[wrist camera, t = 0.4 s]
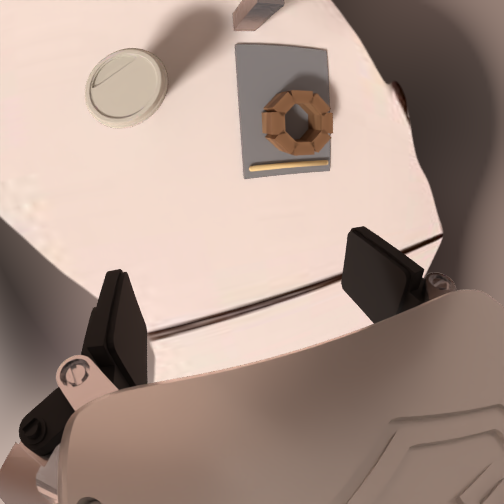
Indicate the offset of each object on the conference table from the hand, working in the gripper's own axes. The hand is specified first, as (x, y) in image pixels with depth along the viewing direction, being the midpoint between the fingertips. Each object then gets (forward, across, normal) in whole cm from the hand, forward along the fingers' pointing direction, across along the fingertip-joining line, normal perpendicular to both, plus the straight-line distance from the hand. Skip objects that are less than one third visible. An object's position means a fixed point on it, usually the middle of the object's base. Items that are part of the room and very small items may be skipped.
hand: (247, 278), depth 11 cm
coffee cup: (+30, +6, -11) cm, 32 cm away
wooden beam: (+29, -8, -21) cm, 37 cm away
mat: (+29, -14, -7) cm, 33 cm away
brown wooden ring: (+29, -15, -5) cm, 33 cm away
